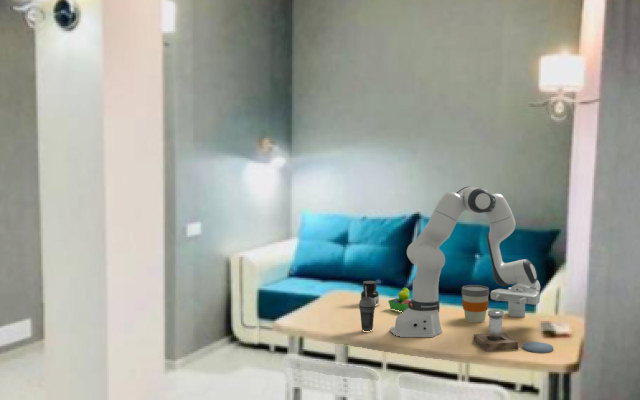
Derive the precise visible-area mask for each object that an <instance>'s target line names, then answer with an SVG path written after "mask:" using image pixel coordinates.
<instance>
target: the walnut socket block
mask: <svg viewBox="0 0 640 400" xmlns="http://www.w3.org/2000/svg"><path fill="white" fill-rule="evenodd" d="M472 338H473V341H472V342H474V343H475V344H476V345H477V346H478V347H480V348H481V349H482V350H483V351H485V352H497V351H498V352H499V351H500V352H501V351H512V350H519V341H517V340H516V339H514V338H513V337H511V335H509V334H508V333H506V332H502V340H499V341H490V340H489V333H474V334H473V337H472Z"/></svg>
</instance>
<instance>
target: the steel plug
mask: <svg viewBox="0 0 640 400" xmlns="http://www.w3.org/2000/svg"><path fill="white" fill-rule="evenodd" d="M487 316H488V317H489V318H488V322H489V323H488V324H489V325H488V329H489V330H488V334H489V340H490V341H499V340H502V333H503V317H504V311H502V310H501V309H500V310H499V309H491V310H487Z"/></svg>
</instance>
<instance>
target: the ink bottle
mask: <svg viewBox="0 0 640 400" xmlns="http://www.w3.org/2000/svg"><path fill="white" fill-rule="evenodd" d="M365 286H366V291H367V296H368V297H371V298H372V299H373V300H374V302H375V305H376V304H378V303H379V300H380V299H379V297H380V293H379V291H377V281H376V280H375V281H374V280H365V281H362V289H363V290H362V292H361V293H360V300H361V299H362V298H363V297H366V293H365ZM379 304H380V303H379Z"/></svg>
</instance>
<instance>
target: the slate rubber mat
mask: <svg viewBox="0 0 640 400" xmlns="http://www.w3.org/2000/svg"><path fill="white" fill-rule="evenodd" d="M521 346H522V347H521V348H522V350H524V351H527V352H530V353H533V354H534V353H535V354H547V353H552V352H553V351H554V346H553V345H552V344H549V343H546V342H540V341H528V342H524V343H522V344H521Z"/></svg>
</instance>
